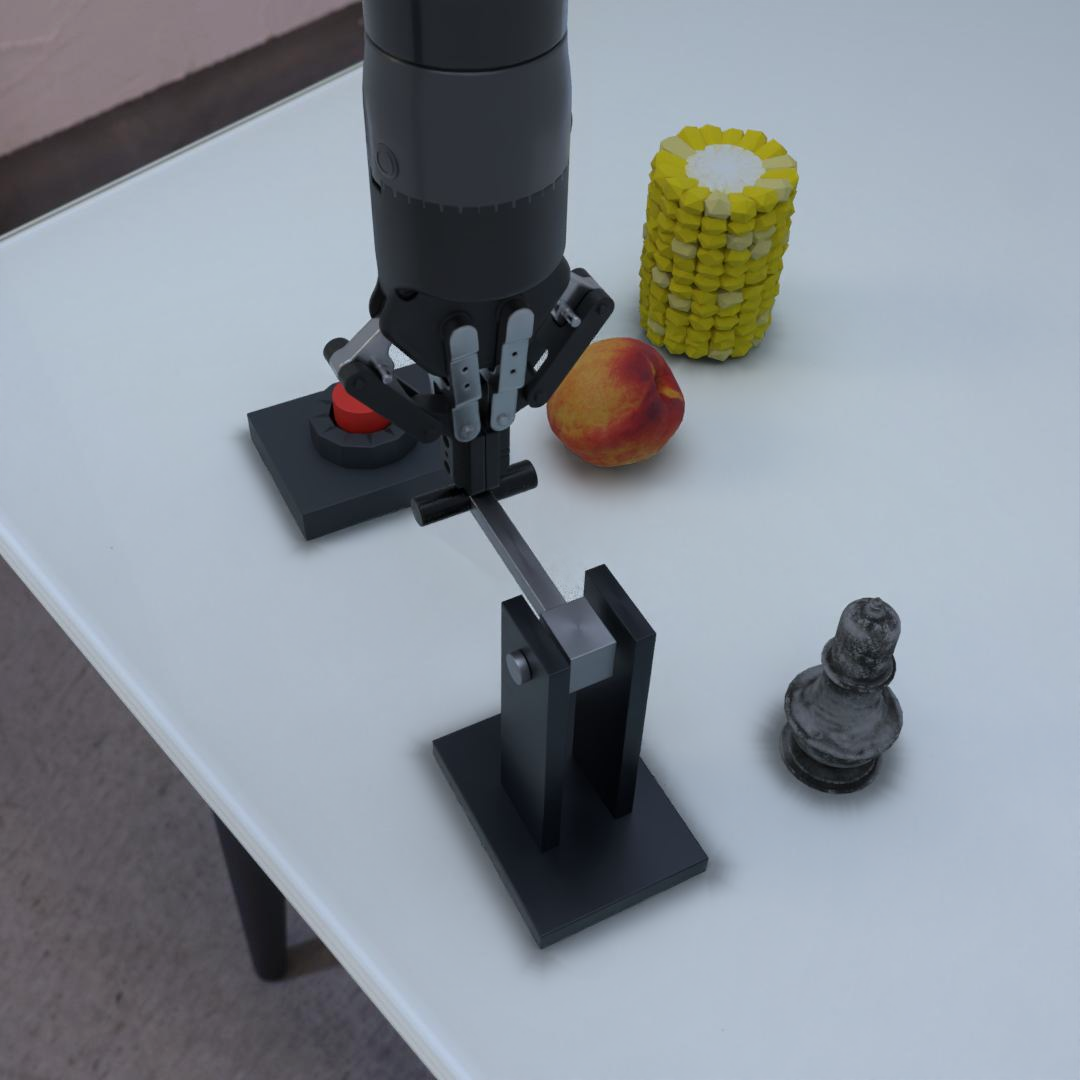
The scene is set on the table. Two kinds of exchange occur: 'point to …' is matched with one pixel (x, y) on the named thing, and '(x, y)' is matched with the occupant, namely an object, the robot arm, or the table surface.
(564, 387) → the fruit
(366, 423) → the button
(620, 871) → the bracket
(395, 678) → the table surface
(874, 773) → the black chess piece
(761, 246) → the food
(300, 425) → the control block
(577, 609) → the lever
